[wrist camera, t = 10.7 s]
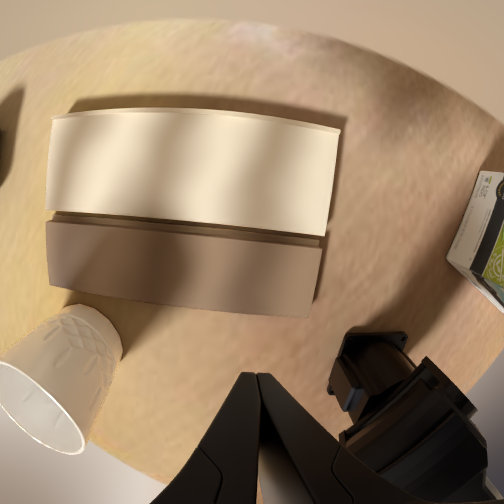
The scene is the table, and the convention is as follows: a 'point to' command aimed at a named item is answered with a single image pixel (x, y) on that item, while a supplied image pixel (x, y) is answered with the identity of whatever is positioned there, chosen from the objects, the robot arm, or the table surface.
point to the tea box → (483, 238)
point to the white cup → (61, 377)
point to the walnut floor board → (184, 265)
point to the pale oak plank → (193, 167)
